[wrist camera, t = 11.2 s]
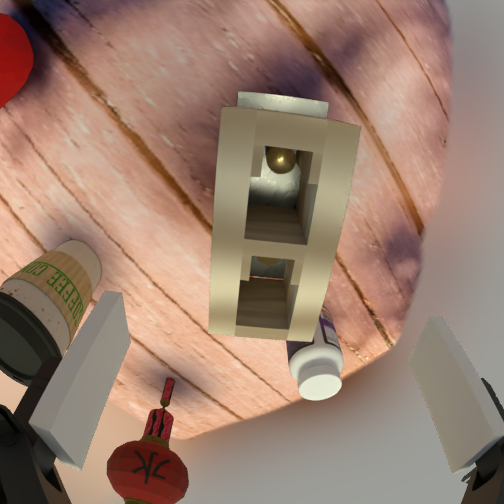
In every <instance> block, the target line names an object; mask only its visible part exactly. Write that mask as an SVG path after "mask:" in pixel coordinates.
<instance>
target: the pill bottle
mask: <svg viewBox="0 0 504 504" xmlns="http://www.w3.org/2000/svg"><path fill="white" fill-rule="evenodd" d="M286 343H287V353H288V363H289V370H290V373H291V375H292V377H293V378H294V379H295V380H296V381H297V383H298V389H299V393H300V395H301V396H302V397H304V398H305V399H308V400H323V399H326V398H329V397H331V396H333V395H335V394H336V393H337V392H338V391H339V390H340V388H341V385H342V382H341V377H340V371H341V370H342V367H343V363H344V360H343V355H342V351H341V348H340V344H339V341H338V337H337V334H336V330H335V327H334V324H333V320H332V317H331V315H330V313H329V312H328V311H327V310H326V309H325V308H324V307H322V308H321V312H320V316H319V319H318V323H317V326H316V329H315V333H314V336H313V340H312V342H306V341H289V340H286Z"/></svg>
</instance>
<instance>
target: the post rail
mask: <svg viewBox="0 0 504 504" xmlns="http://www.w3.org/2000/svg"><path fill="white" fill-rule="evenodd" d="M328 104H329V103H327V102H321V101H315V100H309V99H303V98H296V97H289V96H281V95H273V94H263V93H253V92H242V91H239V93H238V103H237V107H246V108H256V109H266V110H274V111H282V112H290V113H297V114H304V115H310V116H316V117H322V118H327V112H328ZM296 152H297V150H295V149H288V148H280V147H272V146H264V154H263V163H262V171H261V178H260V177H250V186H249V195H248V204H254V205H263V206H273V207H281V208H290V209H295V208H296V202H297V196H298V189H299V183H300V176H301V170H300V169H299V167H298V165H297V164H296ZM286 262H287V261H286V259H281V258H271V257H261V256H252V258H251V267H250V276H259V277H270V278H281V279H284V273H285V268H286Z"/></svg>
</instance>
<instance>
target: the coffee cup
mask: <svg viewBox="0 0 504 504" xmlns="http://www.w3.org/2000/svg"><path fill="white" fill-rule="evenodd" d="M101 274H102V269H101V264H100V261H99V259H98V257H97V255H96V254H95V252H94V251H93V250H92V249H91V248H90V247H89V246H88V245H86V244H84V243H83V242H80V241H76V240H69V241H66V242H64V243H63V244H61V245H60V246H58V247H57V248H55V249H54V250H52V251H49V252H46V253H45V254H43V255H42V256H40V257H39V258H37V259H36V260H34V261H33V262H31V263H30V264H28V265H27V266H25V267H24V268H22V269H21V270H20V271H18V272H17V273H15V274H14V275H12V276H11V277H9V278H8V279H7V280H5V281H4V282H3V284H2V285H1V286H0V370H1V371H2V372H3V373H5V374H6V375H7V376H9V377H10V378H12V379H13V380H15V381H16V382H18V383H20V384H23V385H25V386H27V387H29V386H30V385H31V384H30V383H31V382H32V380H33V378H34V377H35V376H36V373H37V371H38V370H39V368H40V366H41V365H42V364H43V363H44V362H45V361H46V360H48V359H49V358H50V357H51V356H55V357H58V358H62V359H63V356H64V354H65V352H66V350H67V349H68V348H69V346H70V344H71V342H72V340H73V337H74V335H75V333H76V331H77V328H78V326H79V324H80V322H81V320H82V317H83V315H84V313H85V311H86V309H87V307H88V305H89V303H90V301H91V298H92V294H93V292H94V290H95V288H96V286H97V284H98V282H99V280H100V278H101Z"/></svg>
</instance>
